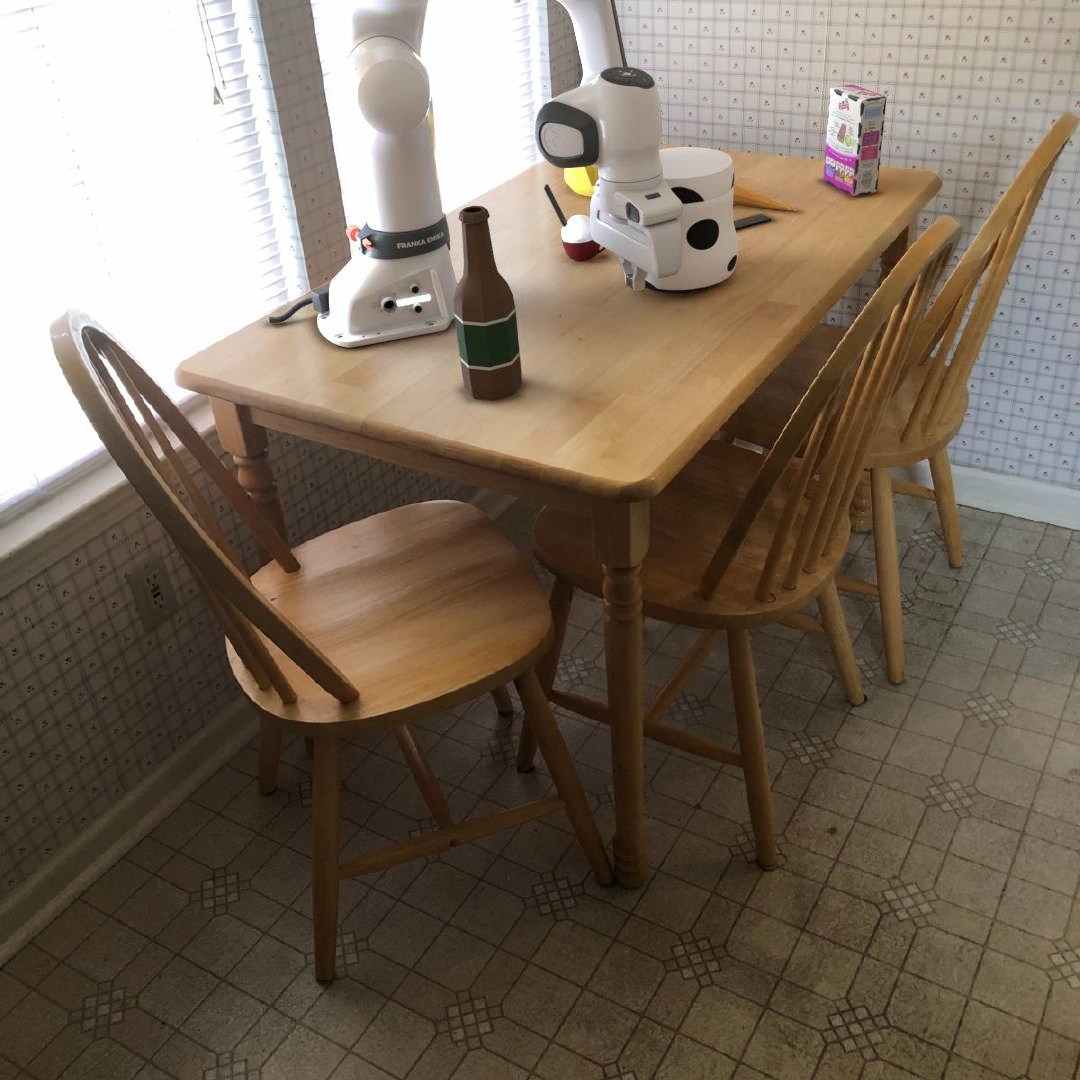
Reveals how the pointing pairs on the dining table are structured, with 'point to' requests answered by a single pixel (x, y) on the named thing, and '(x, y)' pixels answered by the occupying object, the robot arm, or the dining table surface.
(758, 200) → the carrot
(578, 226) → the cocoa
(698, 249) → the milk container
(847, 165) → the candy bar box
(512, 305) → the beer bottle
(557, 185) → the dining table surface
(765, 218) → the ruler
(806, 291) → the dining table surface
